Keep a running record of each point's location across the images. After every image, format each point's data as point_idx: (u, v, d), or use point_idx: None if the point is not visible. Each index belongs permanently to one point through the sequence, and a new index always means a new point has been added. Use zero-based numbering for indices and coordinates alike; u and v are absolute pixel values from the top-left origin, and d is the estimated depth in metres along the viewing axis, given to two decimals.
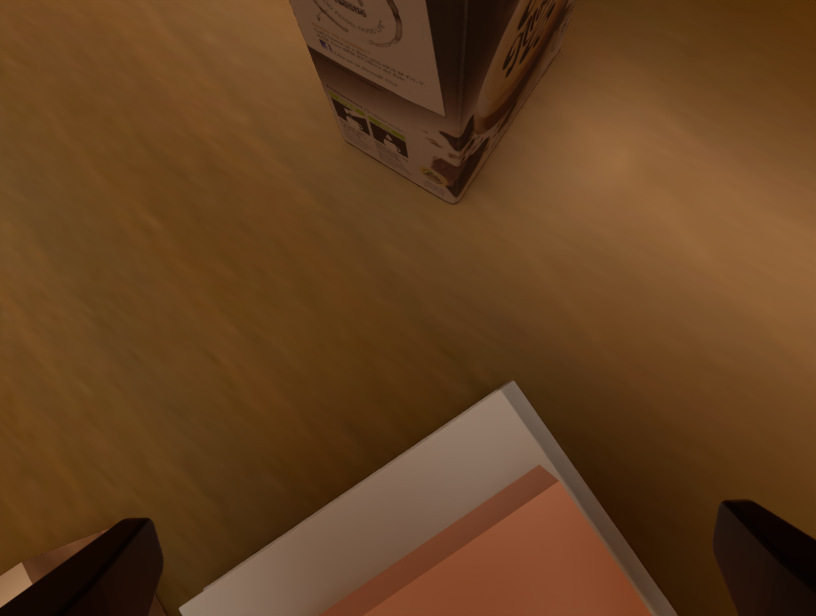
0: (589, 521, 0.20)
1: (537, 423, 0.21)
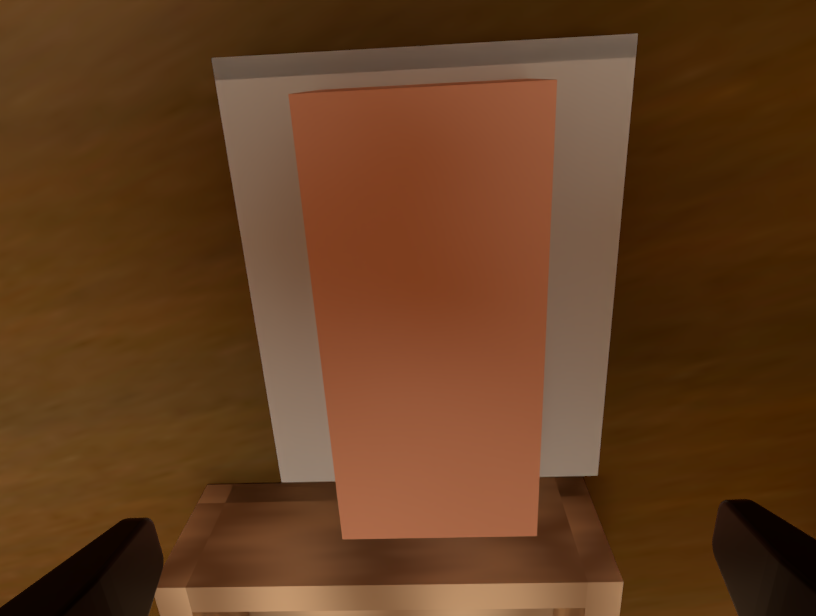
0: (407, 72, 0.16)
1: (273, 61, 0.16)
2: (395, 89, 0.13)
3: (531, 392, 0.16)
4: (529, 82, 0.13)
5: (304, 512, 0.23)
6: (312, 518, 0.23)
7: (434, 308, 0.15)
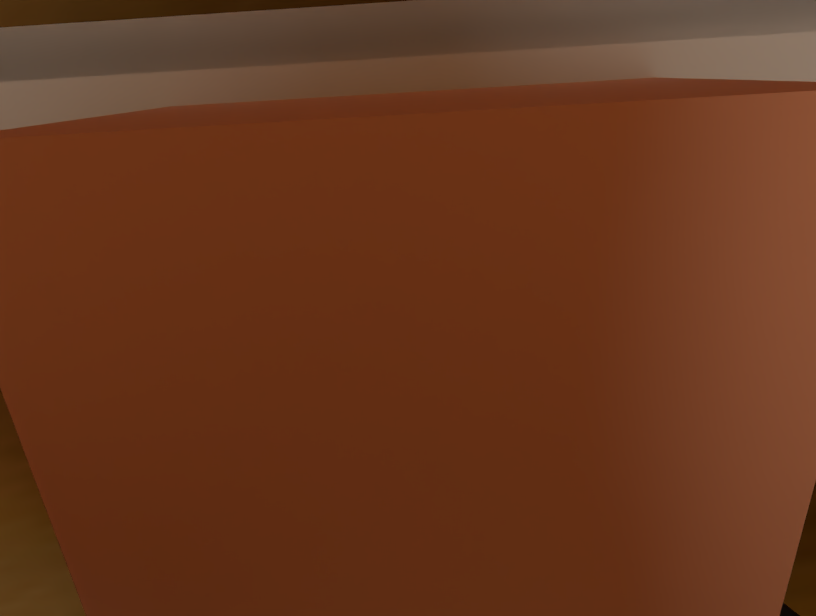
0: (373, 63, 0.07)
1: (58, 41, 0.07)
2: (301, 124, 0.03)
3: None
4: (814, 95, 0.03)
5: None
6: None
7: None
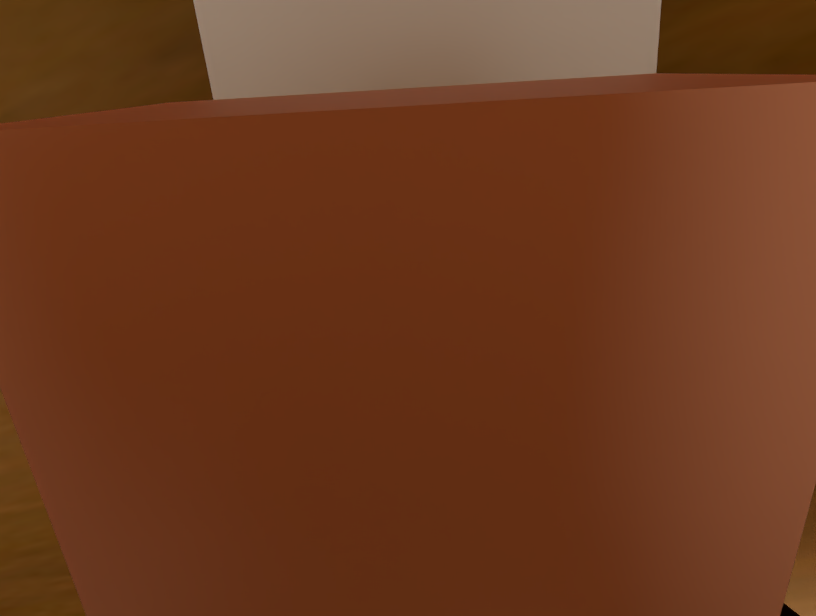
0: None
1: None
2: (301, 115, 0.03)
3: None
4: None
5: None
6: None
7: None
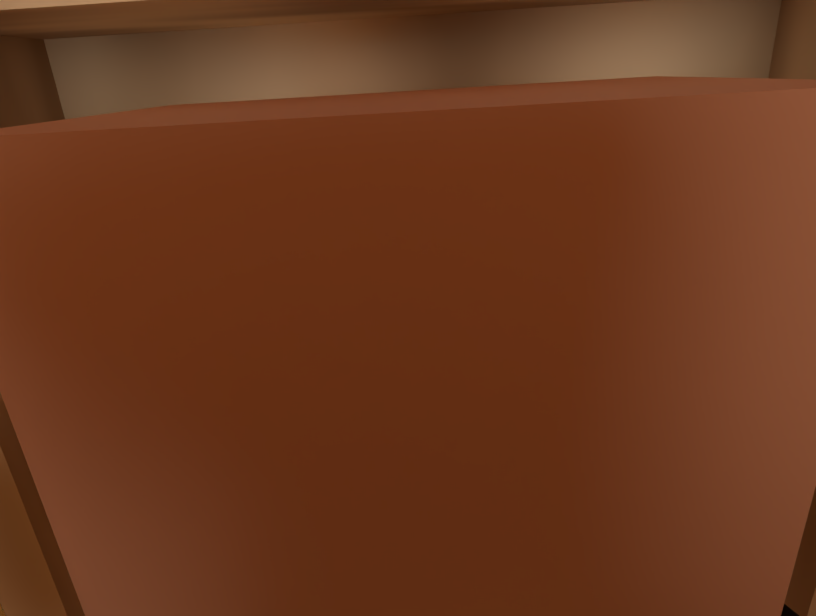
0: None
1: None
2: (300, 122, 0.03)
3: None
4: None
5: None
6: None
7: None
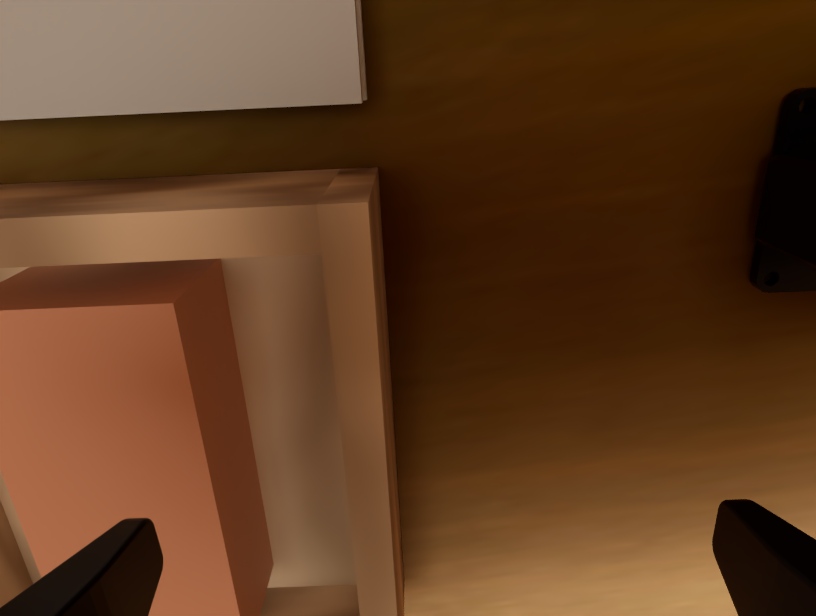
0: None
1: None
2: (35, 309, 0.15)
3: (214, 542, 0.18)
4: (149, 305, 0.15)
5: None
6: None
7: (110, 477, 0.17)
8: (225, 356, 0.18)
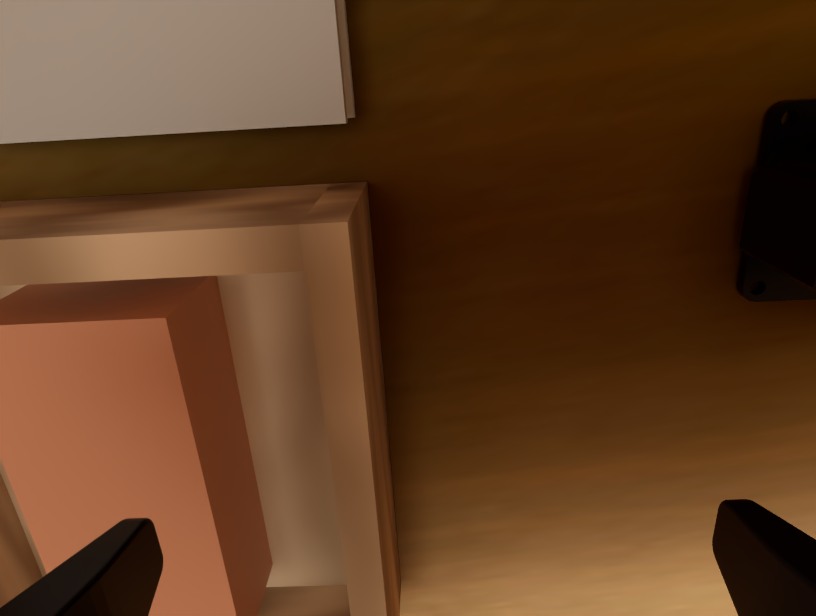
0: None
1: None
2: (36, 323, 0.15)
3: (209, 545, 0.18)
4: (142, 320, 0.15)
5: None
6: None
7: (110, 482, 0.17)
8: (220, 365, 0.19)
